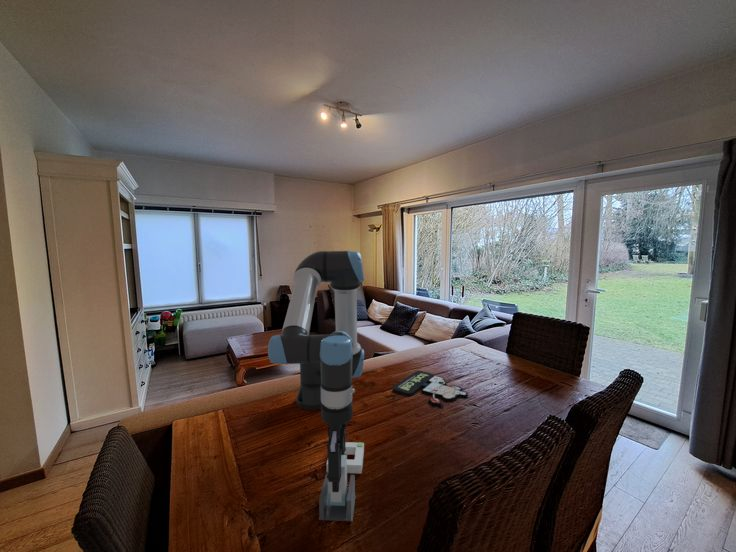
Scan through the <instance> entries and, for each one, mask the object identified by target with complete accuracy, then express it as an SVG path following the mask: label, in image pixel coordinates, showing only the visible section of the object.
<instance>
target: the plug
mask: <svg viewBox="0 0 736 552" xmlns="http://www.w3.org/2000/svg"><path fill="white" fill-rule="evenodd" d="M347 459H348V456H347V455H341V474H342V502H331V496H330V482H329V481H328V503H329V505H338V506H345V503H346V496H347V493H348V473H347Z"/></svg>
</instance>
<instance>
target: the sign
mask: <svg viewBox="0 0 736 552" xmlns="http://www.w3.org/2000/svg"><path fill="white" fill-rule="evenodd" d="M420 390H421V391H420ZM419 391H420V393H421V394H424V395H426V396H430V397H429V398H428V404H430V405H431V406H433V407H438V408H442V409H443V408H444V403H443V402H442V401H444V402H449V403H451V402H454V401H456V400H458V399H459V398H462V399H467V398H468V397H469V393H468V392H466V391H464V390H463V388H462V387H461V386H460V385H447V381H446V379H445V377H443V376H440V375H434V374H433V373H430V372H427V371H422V370H416V371H415V372H413V373H412V374H410V375H408V376H406V377H405V378H403V379H401V380H400V381H399V382H398V383H396V384H395V385H393V386H392V392H394V393H396V394H400V395H402V396H406V397H412V396H413V395H415V394H416V393H418V392H419ZM439 398H441V399H439ZM441 400H442V401H441Z"/></svg>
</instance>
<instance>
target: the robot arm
mask: <svg viewBox="0 0 736 552" xmlns="http://www.w3.org/2000/svg"><path fill="white" fill-rule="evenodd" d="M362 258H363V257H362V255H361V252H359V251H354V250H352V251H351V250H330V251H329V250H326V251H325V250H320V251H315V252H313V253H311V254H309V255H307V256H306V257H305V258H304V259H303V260H301V262H300V263H299V264H298V265H297V267H296V269H295V271H294V274H293V281H294V286H293V290H292V293H291V297H290V300H289V304H288V307H287V312H286V315H285V318H284V322H283V326H282V329H281V330H282V331H281V333H280V334H276V335H272V336H271V338H270V339H269V341H268V344H267V345H268V346H267V356H268V359H269V361H270V362H271V364H274V365H275V364H278V365H290V364H291V365H297V364H299V375H300V376H299V377H300V380H299V381H300V385H299V389H298V392H297V395H296V406H297V407H298V408H299V409H302V410H305V411H319V410H321V411H320V412H321V413H320V415H321V416H320V417H321V421H323V423H325V424H326V425H328V427H327V436H328V442H327V443H326V448H327V449H326V450H327V460H328V472H327V474H328V475H327V478H328V481H329V482H330V496H331V502H342V474H341V455H347V457H348V454H345V451H346V448H345V442H346V429H347V423H349V422H350V421H351V420H352V418H353V416H354V415H353V413H354V412H353V411H354V409H353V405H354V404H353V403H354V402H353V394H355V392H356V389H355V388H353V378H360V377H361V376H362V374H363V370H364V359H365V350H364V348H362V347H361V344H360V343H359V342H358V303H357V302H358V299H357V297H358V296H357V295H358V294H357V293H358V290H359V288H361V286H362V283H363V282H365V275H364V266H363V259H362ZM322 283H330V288H331V289H332V290H333V291H334V316H335V321H334V322H335V331H333V332H332V333H330V334H310V330H311V323H312V319H313V318H312V317H313V312H314V307H315V306H314V305H315V300H316V297H317V296H316V295H317V289H318V287H319V286H320V284H322Z"/></svg>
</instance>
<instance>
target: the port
mask: <svg viewBox="0 0 736 552" xmlns="http://www.w3.org/2000/svg"><path fill="white" fill-rule="evenodd" d="M345 448H346V451H345V454H348V455H353V456H354V459H348V458H347V474H362V473H363V465H364V453H365V442H363V441H362V442H353V441H352V442H351V441H350V442H348V441H347V442H346V441H345ZM326 473H328V459H327V460H326Z"/></svg>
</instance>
